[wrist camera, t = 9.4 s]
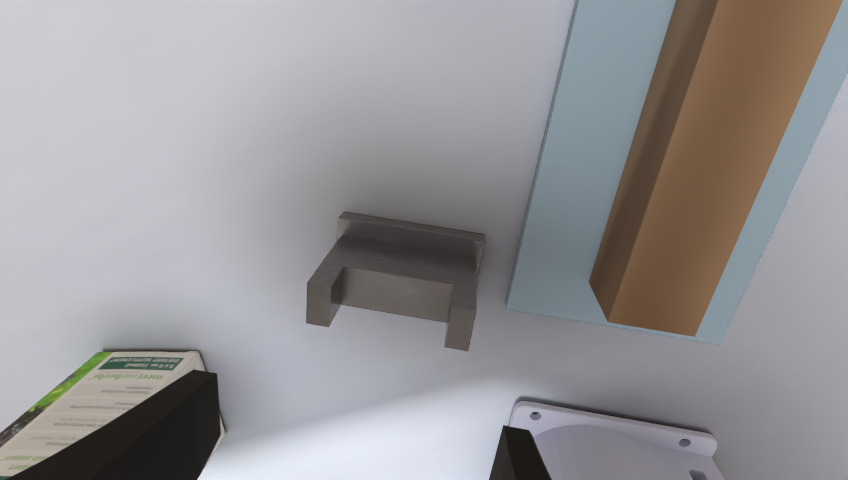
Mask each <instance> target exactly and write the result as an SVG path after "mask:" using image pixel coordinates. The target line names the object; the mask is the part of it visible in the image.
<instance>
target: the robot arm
mask: <svg viewBox="0 0 848 480" xmlns="http://www.w3.org/2000/svg"><path fill="white" fill-rule="evenodd" d="M533 412H538V414H531V413H533ZM220 435H221V428H220V413H219V397H218V382H217V373H211V372H206V371H200V370H194V369H193V370H192V371H190V372H188V373H187V374H185V375H184V376H182V377H180V378H179V379H177V380H176V381H174V382H172V383H171V384H169V385H168V386H166V387H165V388H163V389H162V390H160V391H158V392H157V393H155V394H154V395H152V396H151V397H149V398H147V399H146V400H144V401H143V402H141V403H140V404H138V405H136V406H135V407H133V408H132V409H130V410H128V411H127V412H125V413H123V414H122V415H120V416H119V417H117V418H115V419H114V420H112V421H111V422H109V423H107V424H106V425H104V426H102V427H101V428H99V429H97V430H95V431H94V432H92V433H90V434H88V435H87V436H85V437H83V438H81V439H80V440H78V441H76V442H75V443H73V444H71V445H69V446H68V447H66V448H64V449H62V450H61V451H59V452H57V453H55V454H54V455H52V456H50V457H48V458H46V459H44V460H43V461H41V462H39V463H37V464H35V465H33V466H31V467H29V468H27V469H25V470H23V471H21V472H19V473H17V474H15V475H13V476H11V477H9V478H7V479H5V480H197V479H198V477H199V476H200V474H201V472H202V470H203V469H204V467H205V465H206V463H207V461H208V459H209V457H210V455H211V453H212V451H213V449H214V447H215V445H216V443H217V441H218V439H219V437H220ZM682 439H685V440H682ZM717 446H718V444H717V442H716V440H715V438H714V437H713V436H712V435H711V434H708V433H703V432H698V431H692V430H687V429H681V428H675V427H670V426H664V425H658V424H653V423H647V422H642V421H636V420H630V419H625V418H619V417H613V416H608V415H602V414H597V413H591V412H585V411H580V410H574V409H568V408H563V407H557V406H552V405H546V404H540V403H535V402H529V401H521V402H518V403H517V404H515V406H514V409H513V413H512V416H511V420H510V424H509V426H504V425H503V429H502V433H501V437H500V440H499V444H498V448H497V452H496V456H495V459H494V463H493V467H492V471H491V475H490V478H489V480H725V479H724V478H723V476H722V474H721V472H720V471H719V469H718V467H717V465H716V464H715V462H714V460H713V459H712V456H713V455H714V453H715V451H716V449H717Z"/></svg>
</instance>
